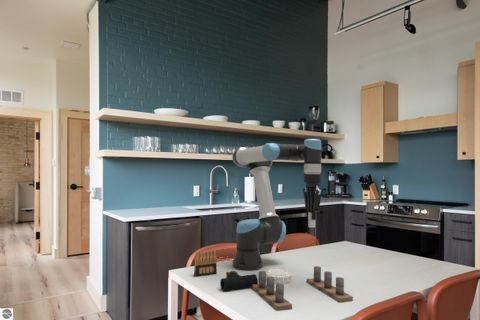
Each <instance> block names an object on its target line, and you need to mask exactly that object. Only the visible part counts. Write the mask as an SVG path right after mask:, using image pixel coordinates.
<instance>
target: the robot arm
mask: <svg viewBox="0 0 480 320" xmlns="http://www.w3.org/2000/svg"><path fill="white" fill-rule="evenodd" d="M303 141H304V142H303V144H292V143H276V142H268V143H265V144H264V145H260V146H254V147H248V146H247V147H246V146H243V147H242V146H241V147H238V148H236V149H234V151H233V153H232V155H231V156H232V157H231V158H232V161H233V163H234V165H236V166H237V167H239V168H243V169H249V173H250V174H251V175H253V176H252V177H253V183H254V188H255V195H256V200H257V201H256V202H257V206H258V211H259V217H258V219H257V218H251V219H250V218H248V219H244V220H243V219H242V220H240V221H239V222H237V226H236V248H235V249H236V251H235V254H234V257H233V260H232V267H233V268H234V269H236V270H241V271H257V270H261V269H262V268H263V260H262V257H261V254H260V245H269V244H279V243H282V242H283V241H284V240H285V237H286V234H287V225H286V224H285V222H284V220H281V219H280V215H278V214H277V213H276V209H275V201H274V198H273V193H272V187H271V181H270V174H269V172H270V170H271V167H272V166H273V161H292V162H301V161H303V173H304V174H303V182H304V183H306V185H305V188H302V192H303V199H304V208H305V211H307V213H308V215H307V216H308V217H307V218H308V220H307V222H308V223H307V224H308V226H307V227H308V228H316V219H317V218H316V217H317V215H316V214H317V212H320V206H321V205H320V204H321V198H322V195H323V190H322V189H320V185H319V183H322V175H321V173H322V140H321V139H319V138H306V139H304V140H303Z"/></svg>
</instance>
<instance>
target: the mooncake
mask: <svg viewBox="0 0 480 320" xmlns="http://www.w3.org/2000/svg"><path fill="white" fill-rule="evenodd" d="M265 272H266V281H267V277H274V284H277V283H281V284H288V283H291V282H292V281H293V280H292V279H293V273H292V272H290V271H288V270H287V269H282V268H272V269H268V270H266V271H265Z"/></svg>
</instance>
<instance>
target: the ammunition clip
mask: <svg viewBox="0 0 480 320" xmlns="http://www.w3.org/2000/svg"><path fill="white" fill-rule="evenodd" d="M217 269H218V268H217V251H216V248H214V249H212V248H210V250H209V248H208V249H206V250H205V249H203V250H201V249H200V250H199V251H198V249H196V251H195V259H194V269H193V270H194V271H193V276H194V277H195V278H197V277H198V278H200V277H205V276H206V277H207V276H213V275H218V273H217V272H218V271H217Z"/></svg>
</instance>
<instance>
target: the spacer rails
mask: <svg viewBox="0 0 480 320" xmlns="http://www.w3.org/2000/svg"><path fill="white" fill-rule="evenodd" d="M323 278H324V279H322V267H321V266H318V265H316V266H313V277H312V278H306V279H305V280H306V281H305V282H306V284H308V285H310V286H312V287H313V288H314V289H317V290H318V291H320V292H321V293H323V294H325V295H327V296H328V297H330V298H331V299H333V300H334V301H336V302H338V303H345V302H346V303H347V302H353V300H354V298H353V295H351V294H348V293H347V292H345V278H344V277H339V276H337V277H335V286H334V285H333V273H332V271H324V273H323ZM284 284H285V283H284ZM284 284H281V283H274V277H267V280H266V271H264V270H261V271H260V270H259V271H258V284H253V285H252V287H251V289H252V290H253V291H254V292H256V294H258V295H259V296H260V297H261V298H262V299H263V300H264V301H265V302H266V303H268V304H269V306H271V307H272V308H273V309H274V310H275V311H277V312H278V311H285V310H292V309H293V304H292V303H291V302H289V300H287V299H286V298H285V297H284V295H285V285H284Z"/></svg>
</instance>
